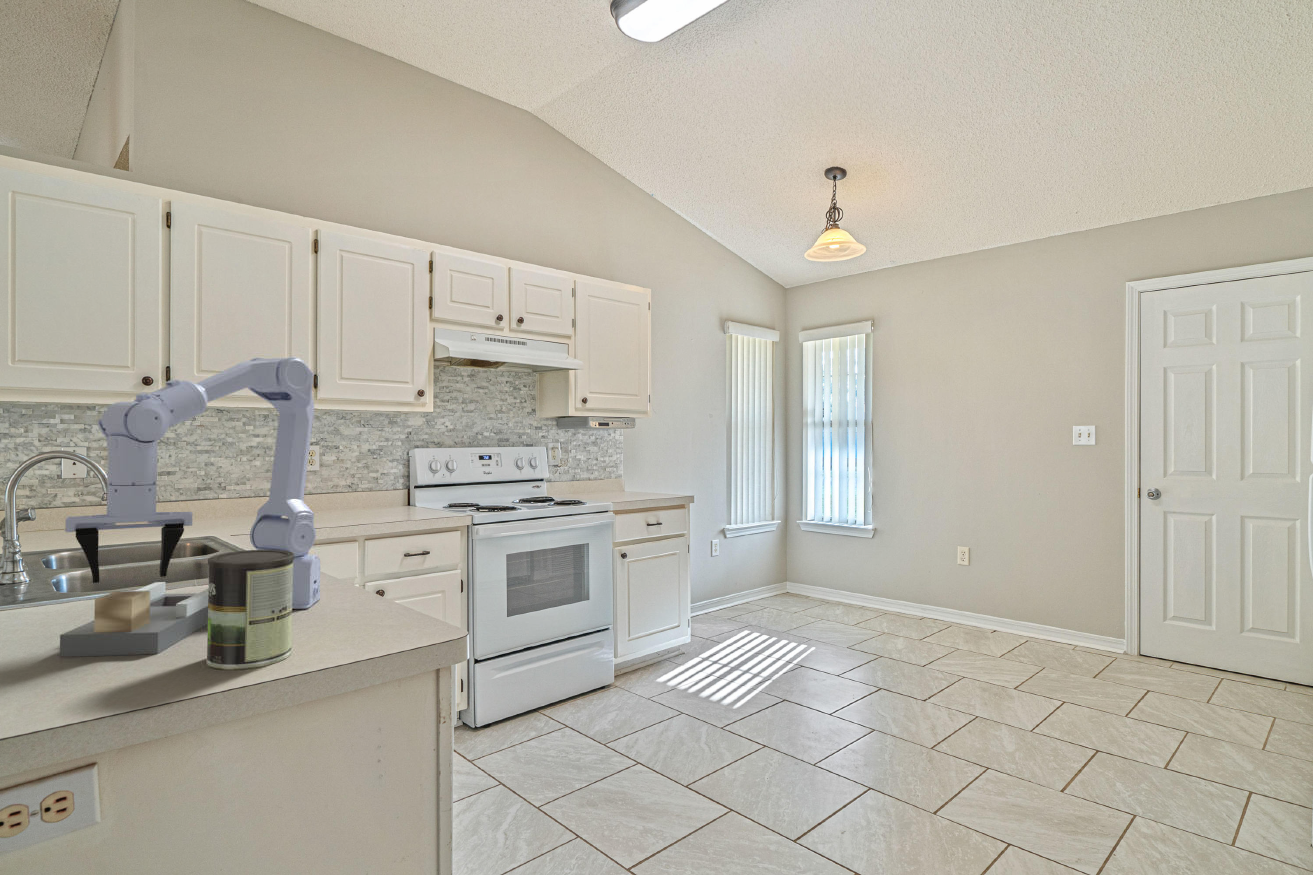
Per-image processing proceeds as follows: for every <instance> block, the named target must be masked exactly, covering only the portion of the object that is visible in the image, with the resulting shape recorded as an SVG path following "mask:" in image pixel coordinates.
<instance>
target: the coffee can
mask: <svg viewBox="0 0 1313 875" xmlns="http://www.w3.org/2000/svg"><path fill="white" fill-rule="evenodd" d="M294 555H295V554H294V553H292V552H289V551H284V550H257V549H249V550H238V551H230V552H224V553H220V554H219V553H218V554H216V555H213V556H210V557H209V558H207V565H208V588H209V589H208V588H207V589H208V591H209V592H208V625H207V640H206V641H207V647H206V650H207V651H206V661H205V663H206V665H207V666H208V667H209V668H213V669H217V670H224V671H225V670H226V671H236V670H237V671H239V670H246V669H250V670H251V669H255V668H261V667H265V666H269V665H273V664H276V663H279V662H281V661H284V660H287V658H288V657H290V656H291V655H292V653H293V650H292V631H293V630H292V629H293V628H292V626H293V622H292V621H293V620H292V619H293V609H292V591H293V560H294Z"/></svg>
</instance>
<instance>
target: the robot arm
mask: <svg viewBox="0 0 1313 875" xmlns="http://www.w3.org/2000/svg"><path fill="white" fill-rule="evenodd" d="M313 383H314V372H313V371H312V370H311V368H310V367H309V366H308V365H307V363H306V362H305V361H304V360H303V359H302V358H300V357H296V356H290V357H280V358H277V357H275V358H273V357H272V358H261V357H254V358H251V359H249V360H246V361H240V362H239V363H237V364H235V365H233V366H231V367H229V368H227V369H224V370H222V371H220V372H219V373H216V374H214V375H211V376H209V377H207V378H206V379H203V380H200V381H199V382H197V383H194V382H192V381H189V380H180V379H170V380H168V381H165V385H166V386H164V387H161V388H158V389H157V390H154V391H151V392H149V393H148V392H140V393H138V394H135V397H136V398H135V399H134V400H133V401H117V402H114V403H112V404H110V405H109V406H108V407H106V410H104V411H103V413H102V416H101V418H100V419H98V420H97V425H98V429H99V431H100V432H101V434H102V435H103V436H104V437H105V440H106V448H107V474H106V475H107V478H106V479H107V480H106V482H107V484H106V514H94V515H81V516H80V515H78V516H77V515H76V516H66V517H65V523H64V524H65V525H64V526H65V529H64V530H65V533H75V539H76V541H77V543H78V544H79V545H80V547H81V549H82V551H83V553H84V555H85V557H86V560H87V562H88V565H89V568H90V571H91V577H92V583H93V584H96V583H100V566H99V542H100V541H99V540H100V539H99V536H100V535H99V534H100V533H99V531H103V530H121V529H122V530H125V529H140V528H143V529H144V528H157V527H158V528H159V527H162V528H160V529H161V530H160V531H161V532H160V533H161V538H160V539H161V540H160V541H161V546H160V547H161V548H160V549H161V552H160V553H161V554H160V559H159V560H160V561H159V577H160V578H163V577H167V573H168V568H169V565H170V561H171V559H172V556H173V554H174V551H175V550H176V547H177V545H178V543H179V541H180V539H181V538H182V536H183V534H184V532H185V527H189V526H190V527H191V526H193V520H194V519H193V515H194V514H193V512H192V511H174V512H173V511H171V512H169V511H168V512H165V511H164V512H162V511H161V512H157V494H158V493H157V492H158V489H157V485H158V484H157V483H158V481H157V480H158V449H159V448H158V446H159V445H158V444H159V442H158V440H161V439H162V438H163V437H164V436H165V435H166V434H167V432H168V430H169V429H171V428H173V427H175V426H177V425H180V424H182V423H184V422H187V421H189V420H190V419H193V418H195V417H197V416H199V415H201V414H204V413H205V412H206V410H207V407H208V403H209V402H212V401H215V400H217V399H221V398H223V397H226V396H228V395H231V394H233V393H236V392H238V391H241V390H244V389H246V388H247V389H248V390H249V391H251V392H252V393H253V394H255V395H256V396H258V397H259V398H261V399H263V400H264V401H266V402H267V403H268V404H270V405H271V406H273V409H275V410H276V411H277V412H278V414H279V416H278V423H277V431H276V438H275V439H276V440H275V448H274V456H273V462H272V463H273V464H272V470H271V471H272V472H271V473H272V474H271V479H270V480H271V481H270V488H269V489H270V490H269V495H268V496H269V497H268V500H267V501H266V502H265V503H264V504H263V505H262V506H260V507H259V508H258V509H257V512H256V518H255V521H254V522H253V524H252V525H251V528H250V532H249V540H250V541H249V542H250V543H251V545H252V547H253V548H255V550H284V551H289V552H292V553H294V554H295V555H294V560H293V591H292V610H294V609H295V610H296V609H297V610H300V609H305V610H306V609H309V608H310V607H311V606H313V605H314V604H315V603H316V602H318V601H319V600H320V599H321V598H322V596H321V561H320V557H319V556H318V555H316V554H312V555H311V554H309V551H310V550H311V549H312V547H313V546H314V543H315V541H316V536H317V530H316V527H315V525H314V524H315V523H314V517H315V513H314V512H313V511H312V510H311V508H310V507H309V506H308V505H307V504H306V503H305V502H304V498H305V497H304V496H305V488H306V482H307V472H308V471H307V470H308V464H309V455H310V448H311V438H312V429H313V420H314V413H315V403H314V398H313V391H312V390H313ZM144 522H145V523H144ZM130 523H131V524H130ZM134 523H135V524H134Z"/></svg>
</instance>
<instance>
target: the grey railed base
mask: <svg viewBox="0 0 1313 875" xmlns="http://www.w3.org/2000/svg"><path fill="white" fill-rule="evenodd" d="M208 589H209V587H208V588H206V589H205V590H202V591H200V592H198V593H197V592H193V593H192V592H191V593H166V581H163V582H162V581H161V582H160V581H159V582H158V581H155V582H153V583H151V584H148V585H145V586H143V587H141V588H137V589H135V590H134V591H150V623H148V624H146V625H144V626H142V627H139V628H137V629H135V630H133V631H131V632H94V620H92V621H90V622H86V623H84V624H82V625H80V626H78V627H76V628H73V629H70V630H68V631H65V632H64V633H61V634H59V657H60V658H68V657H69V658H70V657H99V656H101V657H102V656H128V655H131V656H134V655H136V656H137V655H158V654H160V653H162V652H163V651H165V650H167V649H168V648H170V647H172V646H174V645H176V644H177V643H179V642H180V641H182V640H183V639H186V638H187V637H189V636H190V635H193V634H194V633H196V632H197V631H199V630H201V629H202V628H204V627H206V626H208V592H209V591H208Z"/></svg>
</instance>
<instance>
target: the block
mask: <svg viewBox="0 0 1313 875" xmlns="http://www.w3.org/2000/svg"><path fill="white" fill-rule="evenodd" d="M93 621H94V632H131V631H133V630H135V629H137V628H139V627H142V626H144V625H146V624H148V623H150V591H135V590H132V591H128V590H127V591H121V590H120V591H112V592H109V593H108V594H104V595H103V596H99V597H97V598H95V599H94V618H93Z"/></svg>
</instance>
